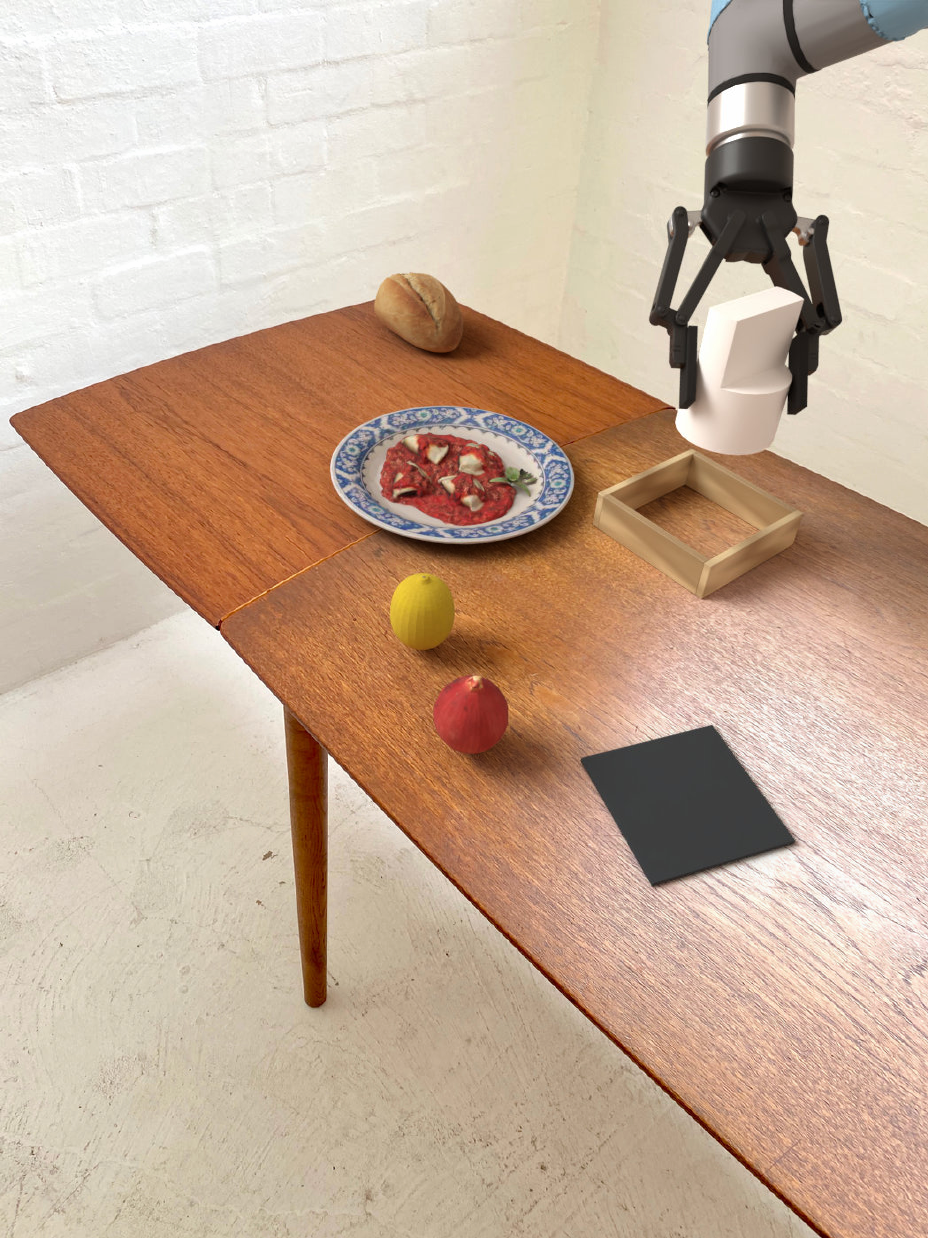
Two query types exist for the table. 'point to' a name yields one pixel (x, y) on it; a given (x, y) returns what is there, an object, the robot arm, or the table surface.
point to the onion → (471, 714)
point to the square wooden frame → (675, 555)
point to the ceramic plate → (452, 474)
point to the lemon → (422, 611)
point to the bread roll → (420, 311)
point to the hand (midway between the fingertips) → (742, 407)
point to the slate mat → (685, 804)
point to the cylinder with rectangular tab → (742, 373)
